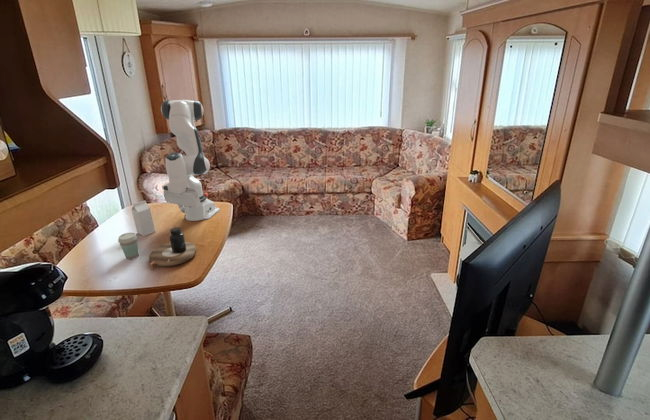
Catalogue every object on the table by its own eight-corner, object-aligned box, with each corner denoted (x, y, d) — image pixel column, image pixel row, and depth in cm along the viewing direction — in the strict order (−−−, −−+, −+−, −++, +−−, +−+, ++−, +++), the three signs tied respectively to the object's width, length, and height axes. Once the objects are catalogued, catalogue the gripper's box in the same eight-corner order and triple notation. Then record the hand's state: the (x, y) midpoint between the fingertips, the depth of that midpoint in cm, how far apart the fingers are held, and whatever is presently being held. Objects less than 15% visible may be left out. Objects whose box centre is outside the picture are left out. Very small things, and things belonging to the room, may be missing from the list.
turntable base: (173, 245, 195) (172, 239, 194) (199, 251, 188) (198, 245, 187) (138, 266, 176) (137, 260, 175) (166, 274, 170) (165, 267, 168)
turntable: (156, 246, 192) (153, 233, 189) (199, 242, 195) (196, 229, 192) (144, 268, 172) (140, 254, 169) (192, 263, 175) (189, 249, 172)
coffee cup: (133, 251, 190) (127, 230, 186) (145, 254, 187) (140, 233, 183) (119, 259, 183) (113, 238, 178) (131, 262, 180) (125, 241, 175)
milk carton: (155, 231, 211) (148, 201, 204) (143, 236, 206) (136, 205, 198) (149, 228, 215) (142, 198, 208) (137, 233, 210) (129, 202, 202)
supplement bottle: (187, 252, 182) (183, 230, 178) (172, 255, 180) (168, 233, 175) (186, 246, 188) (182, 225, 183) (171, 249, 186) (167, 227, 181)
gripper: (200, 187, 176) (205, 213, 182) (169, 182, 184) (174, 207, 189) (191, 191, 171) (196, 218, 176) (159, 186, 178) (165, 211, 184)
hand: (184, 212), depth 183 cm, fingers closed
